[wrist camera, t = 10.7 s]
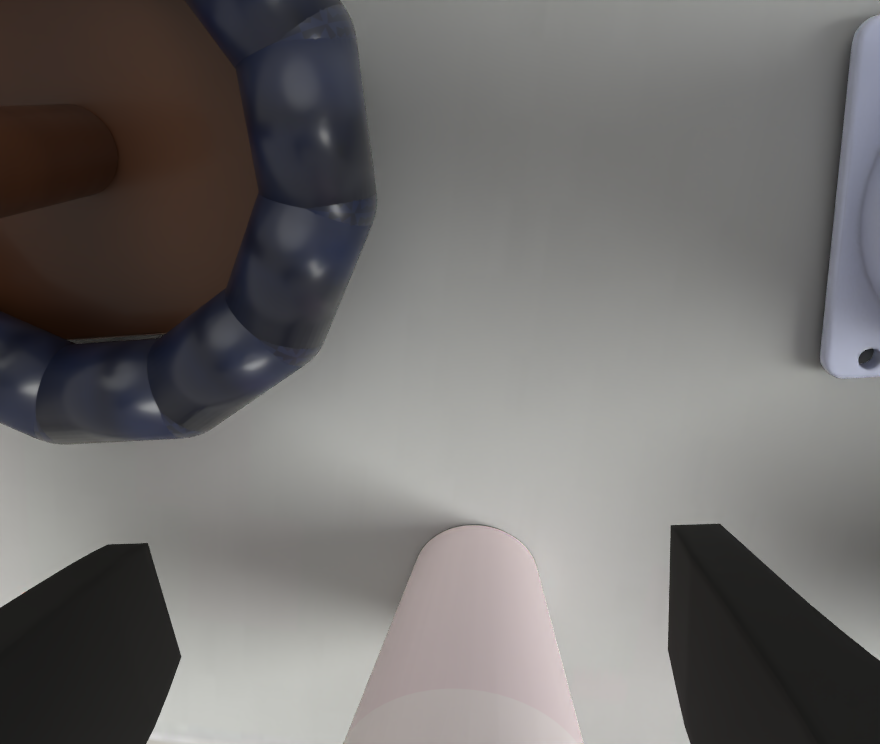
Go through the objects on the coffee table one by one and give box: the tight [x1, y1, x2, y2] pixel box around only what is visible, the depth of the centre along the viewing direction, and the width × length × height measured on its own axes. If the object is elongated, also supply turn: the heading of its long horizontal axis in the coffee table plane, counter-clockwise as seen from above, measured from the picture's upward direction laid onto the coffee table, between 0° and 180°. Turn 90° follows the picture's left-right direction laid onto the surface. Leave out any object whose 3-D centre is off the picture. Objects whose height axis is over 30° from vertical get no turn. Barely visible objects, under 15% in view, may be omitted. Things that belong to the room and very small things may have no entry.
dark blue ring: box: [0, 0, 377, 444], centre depth 15 cm, size 13×13×2 cm
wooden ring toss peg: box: [0, 0, 259, 341], centre depth 14 cm, size 9×9×7 cm
